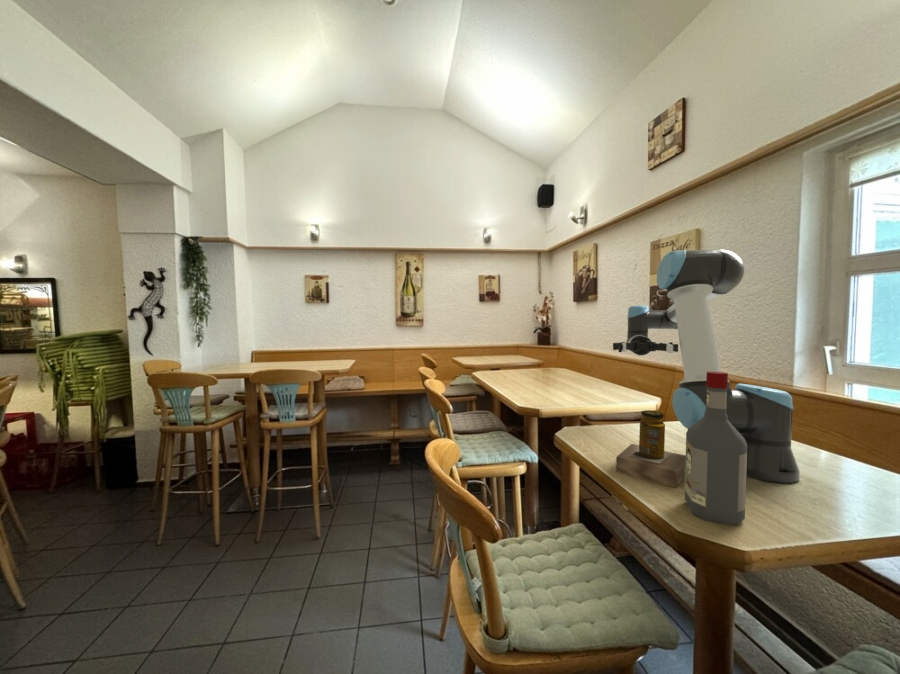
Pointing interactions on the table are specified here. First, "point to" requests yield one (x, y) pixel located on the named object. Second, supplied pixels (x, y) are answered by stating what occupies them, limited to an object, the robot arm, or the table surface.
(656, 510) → the table surface
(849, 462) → the table surface
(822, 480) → the table surface
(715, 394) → the liquor
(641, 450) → the condiment
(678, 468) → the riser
